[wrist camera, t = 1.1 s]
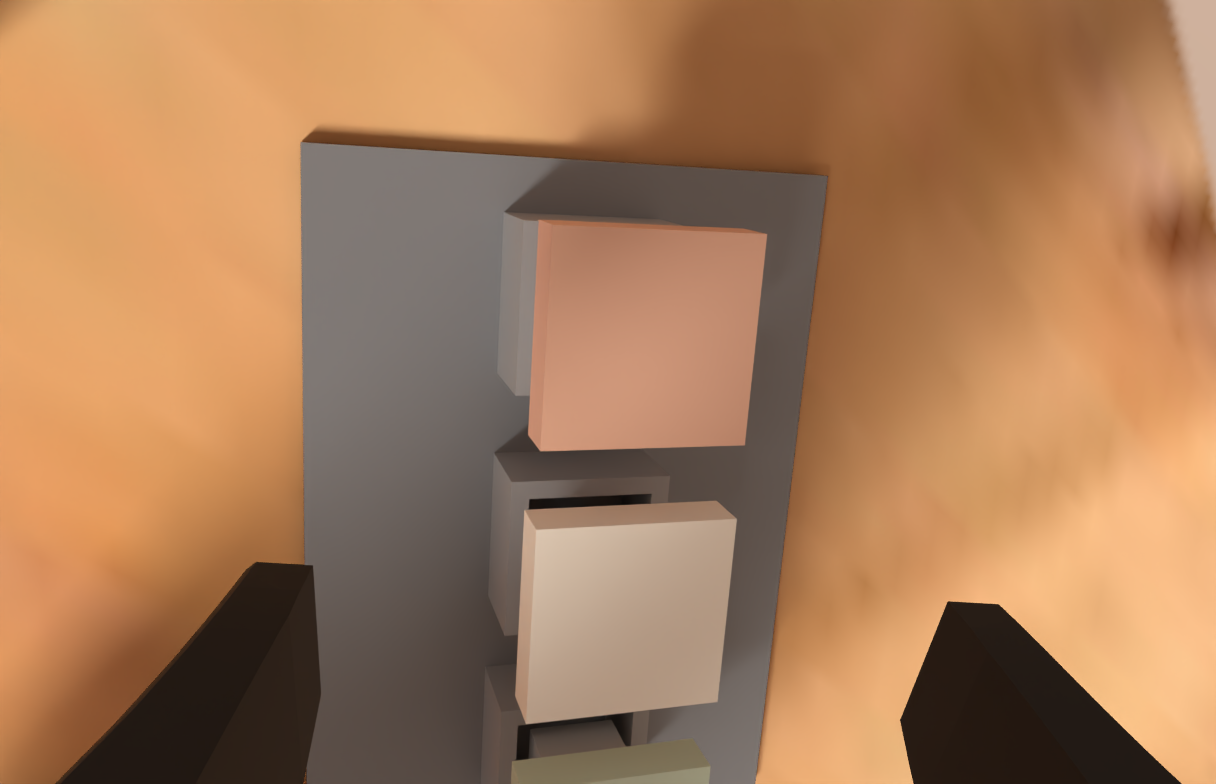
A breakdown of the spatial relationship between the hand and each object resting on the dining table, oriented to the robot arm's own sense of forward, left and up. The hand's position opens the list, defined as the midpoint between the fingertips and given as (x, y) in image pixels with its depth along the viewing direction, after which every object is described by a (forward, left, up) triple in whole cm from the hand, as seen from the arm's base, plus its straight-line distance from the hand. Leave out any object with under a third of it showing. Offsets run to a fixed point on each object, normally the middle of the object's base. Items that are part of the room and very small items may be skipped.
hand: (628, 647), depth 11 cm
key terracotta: (+2, -3, -10) cm, 11 cm away
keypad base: (-3, -3, -12) cm, 13 cm away
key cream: (-3, -3, -10) cm, 11 cm away
